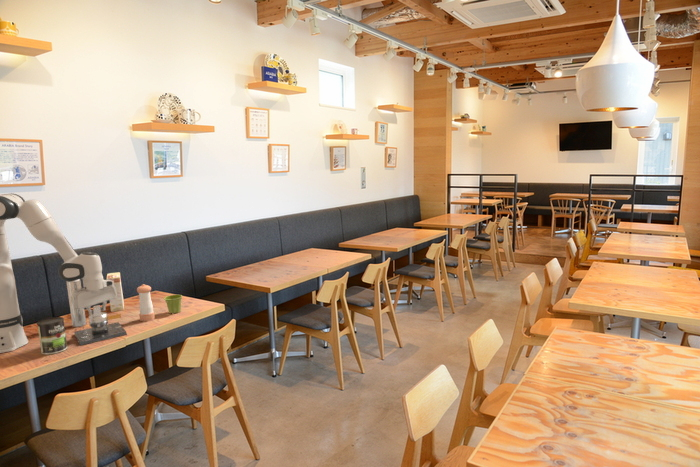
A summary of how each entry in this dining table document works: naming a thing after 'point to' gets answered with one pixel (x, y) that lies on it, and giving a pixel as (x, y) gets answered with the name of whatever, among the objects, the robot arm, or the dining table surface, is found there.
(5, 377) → the dining table surface
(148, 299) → the pepper shaker
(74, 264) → the robot arm
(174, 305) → the plant pot
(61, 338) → the coffee can
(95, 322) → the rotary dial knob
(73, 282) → the thermos flask
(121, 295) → the coffeecake box
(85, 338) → the post plate
